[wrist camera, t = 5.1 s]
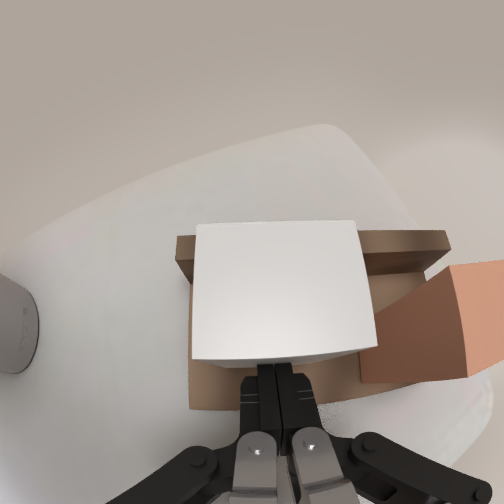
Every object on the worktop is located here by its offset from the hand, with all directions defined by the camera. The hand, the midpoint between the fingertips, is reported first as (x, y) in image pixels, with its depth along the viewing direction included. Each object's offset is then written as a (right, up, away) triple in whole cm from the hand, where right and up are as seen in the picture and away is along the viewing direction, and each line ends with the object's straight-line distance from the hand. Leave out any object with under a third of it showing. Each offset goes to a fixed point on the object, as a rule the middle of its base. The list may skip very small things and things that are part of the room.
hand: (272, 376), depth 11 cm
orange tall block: (+9, -1, +5) cm, 10 cm away
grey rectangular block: (0, 0, +5) cm, 5 cm away
